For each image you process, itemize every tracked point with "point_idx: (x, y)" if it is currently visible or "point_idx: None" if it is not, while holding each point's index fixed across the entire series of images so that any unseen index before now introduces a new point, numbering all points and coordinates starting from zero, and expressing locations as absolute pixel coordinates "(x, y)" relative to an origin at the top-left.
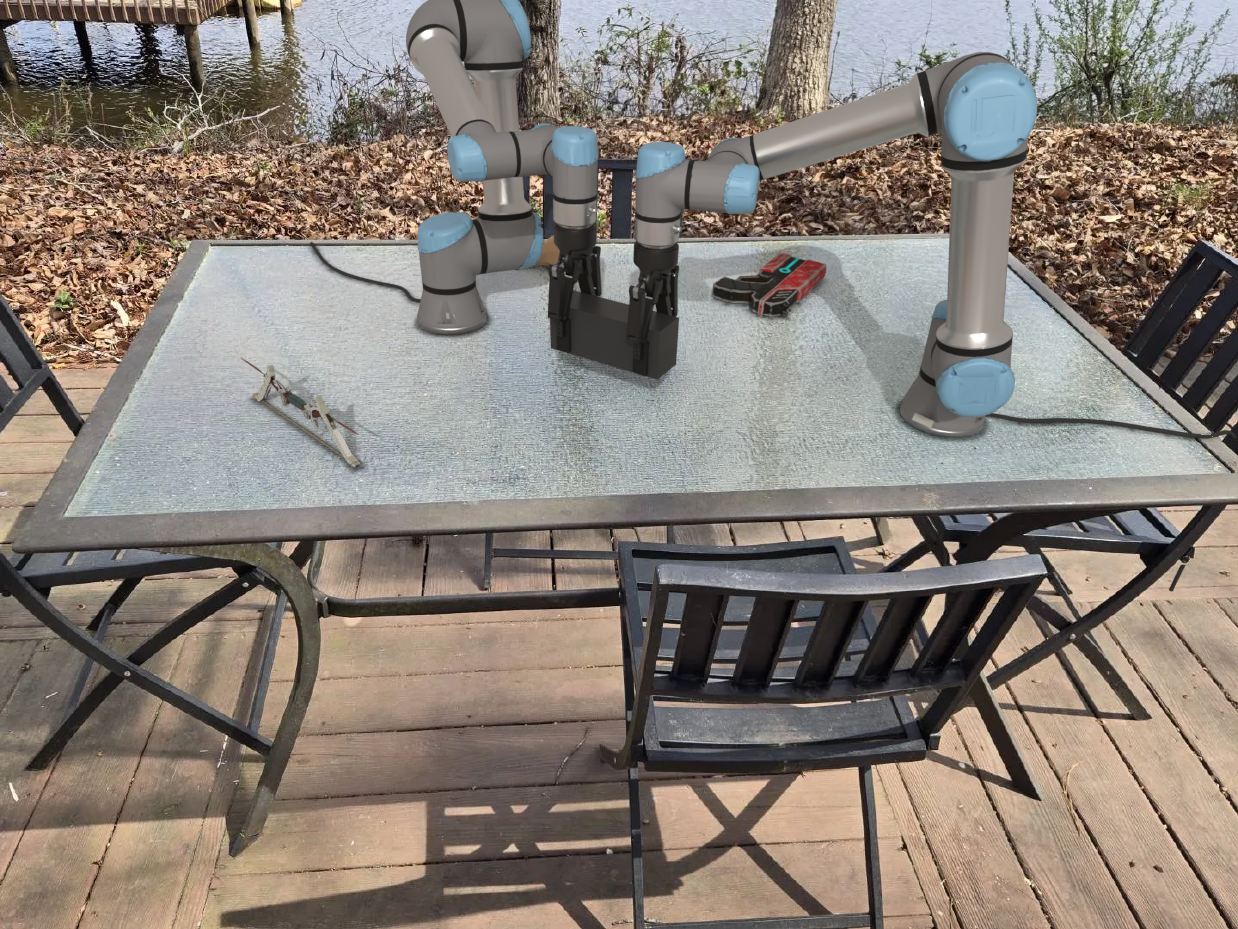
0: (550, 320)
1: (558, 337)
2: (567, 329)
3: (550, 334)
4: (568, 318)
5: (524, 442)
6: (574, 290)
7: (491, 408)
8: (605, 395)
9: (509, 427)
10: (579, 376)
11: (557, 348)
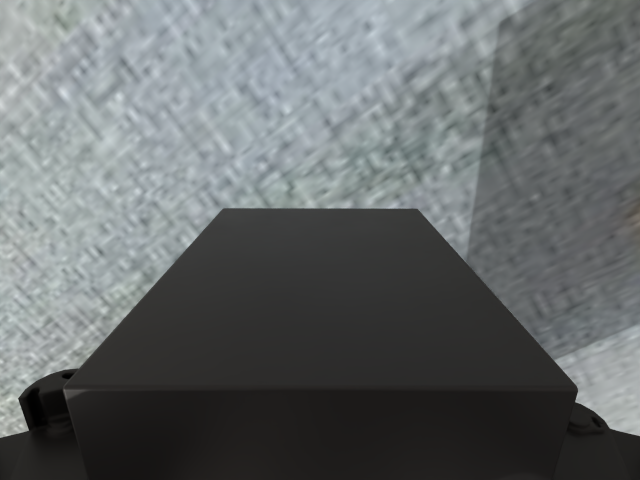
0: (163, 279)
1: None
2: None
3: (200, 235)
4: None
5: (25, 242)
6: (563, 431)
7: (80, 36)
8: None
9: (45, 162)
10: (426, 161)
11: None
